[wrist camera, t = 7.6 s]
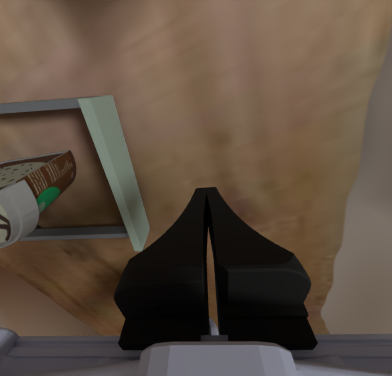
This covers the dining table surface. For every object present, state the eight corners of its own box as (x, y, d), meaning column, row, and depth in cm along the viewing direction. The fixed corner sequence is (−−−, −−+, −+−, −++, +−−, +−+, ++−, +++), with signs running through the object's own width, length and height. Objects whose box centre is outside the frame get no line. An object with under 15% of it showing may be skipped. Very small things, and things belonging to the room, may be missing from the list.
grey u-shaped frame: (151, 225, 27) (142, 251, 23) (33, 229, 28) (3, 255, 24) (115, 94, 18) (89, 98, 13) (-60, 108, 19) (-134, 115, 14)
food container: (25, 201, 25) (-64, 262, 17) (-7, 163, 22) (-138, 213, 14) (103, 190, 24) (50, 250, 15) (81, 148, 21) (-1, 193, 12)
